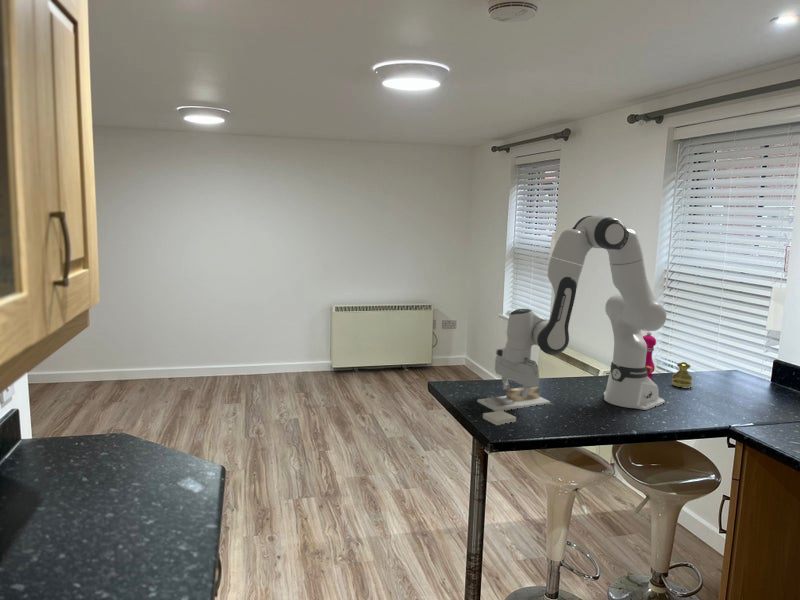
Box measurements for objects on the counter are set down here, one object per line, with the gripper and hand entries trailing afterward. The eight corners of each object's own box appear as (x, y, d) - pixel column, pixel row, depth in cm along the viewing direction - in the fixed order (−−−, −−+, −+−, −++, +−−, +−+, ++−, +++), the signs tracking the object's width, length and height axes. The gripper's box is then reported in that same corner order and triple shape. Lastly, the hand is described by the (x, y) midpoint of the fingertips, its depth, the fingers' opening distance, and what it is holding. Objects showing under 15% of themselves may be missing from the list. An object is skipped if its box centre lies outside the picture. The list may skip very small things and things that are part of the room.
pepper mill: (655, 381, 245) (660, 334, 242) (636, 379, 246) (642, 332, 243) (651, 376, 252) (656, 330, 249) (633, 374, 254) (638, 329, 250)
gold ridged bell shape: (667, 383, 243) (670, 359, 241) (684, 383, 244) (687, 360, 242) (677, 389, 235) (680, 364, 234) (695, 389, 236) (698, 365, 235)
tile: (502, 410, 195) (483, 413, 191) (516, 417, 189) (497, 420, 185) (501, 415, 196) (482, 419, 192) (515, 423, 190) (496, 426, 186)
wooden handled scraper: (531, 394, 216) (532, 384, 215) (542, 399, 211) (543, 389, 210) (484, 401, 206) (485, 390, 205) (495, 406, 201) (496, 395, 200)
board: (529, 394, 219) (530, 392, 219) (550, 403, 209) (550, 401, 209) (477, 401, 208) (477, 399, 207) (496, 411, 198) (496, 409, 198)
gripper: (545, 361, 198) (541, 400, 200) (506, 347, 216) (504, 383, 218) (530, 363, 195) (527, 403, 197) (493, 348, 213) (490, 385, 215)
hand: (514, 392), depth 208 cm, fingers open, 8 cm apart
